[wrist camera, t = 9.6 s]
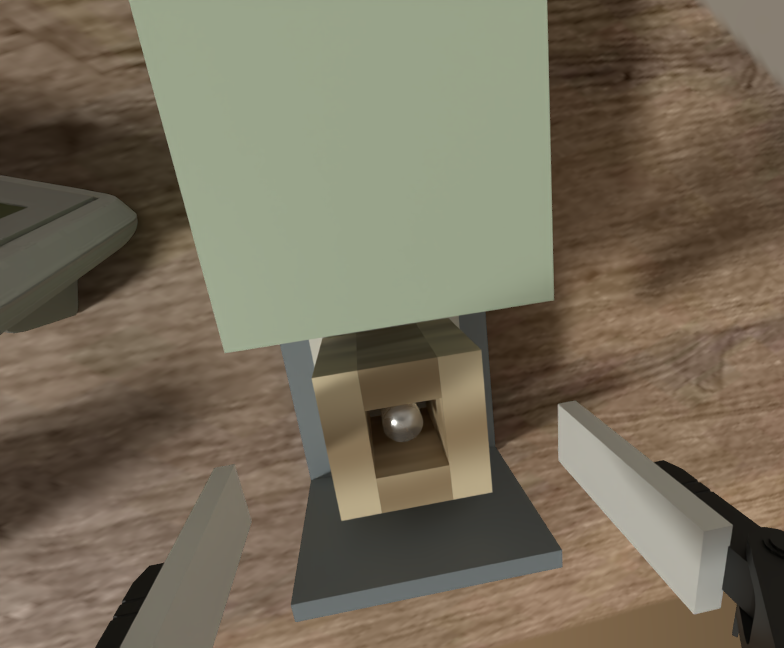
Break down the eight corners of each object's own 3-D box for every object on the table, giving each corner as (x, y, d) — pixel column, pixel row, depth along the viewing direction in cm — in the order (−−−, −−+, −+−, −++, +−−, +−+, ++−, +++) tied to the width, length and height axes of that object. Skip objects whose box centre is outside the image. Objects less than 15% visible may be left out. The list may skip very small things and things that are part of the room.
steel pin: (373, 365, 24) (380, 409, 18) (404, 360, 24) (420, 402, 18) (378, 393, 25) (385, 445, 19) (408, 388, 25) (425, 438, 19)
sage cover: (187, -62, 17) (45, -308, 9) (456, -87, 17) (539, -334, 10) (271, 306, 21) (224, 353, 13) (483, 273, 22) (554, 300, 14)
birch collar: (322, 338, 22) (311, 378, 16) (448, 318, 23) (481, 350, 17) (344, 450, 24) (341, 520, 18) (459, 429, 25) (492, 492, 19)
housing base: (218, 51, 19) (95, -107, 10) (458, 24, 20) (547, -145, 11) (316, 485, 26) (296, 625, 17) (491, 453, 27) (562, 570, 18)
